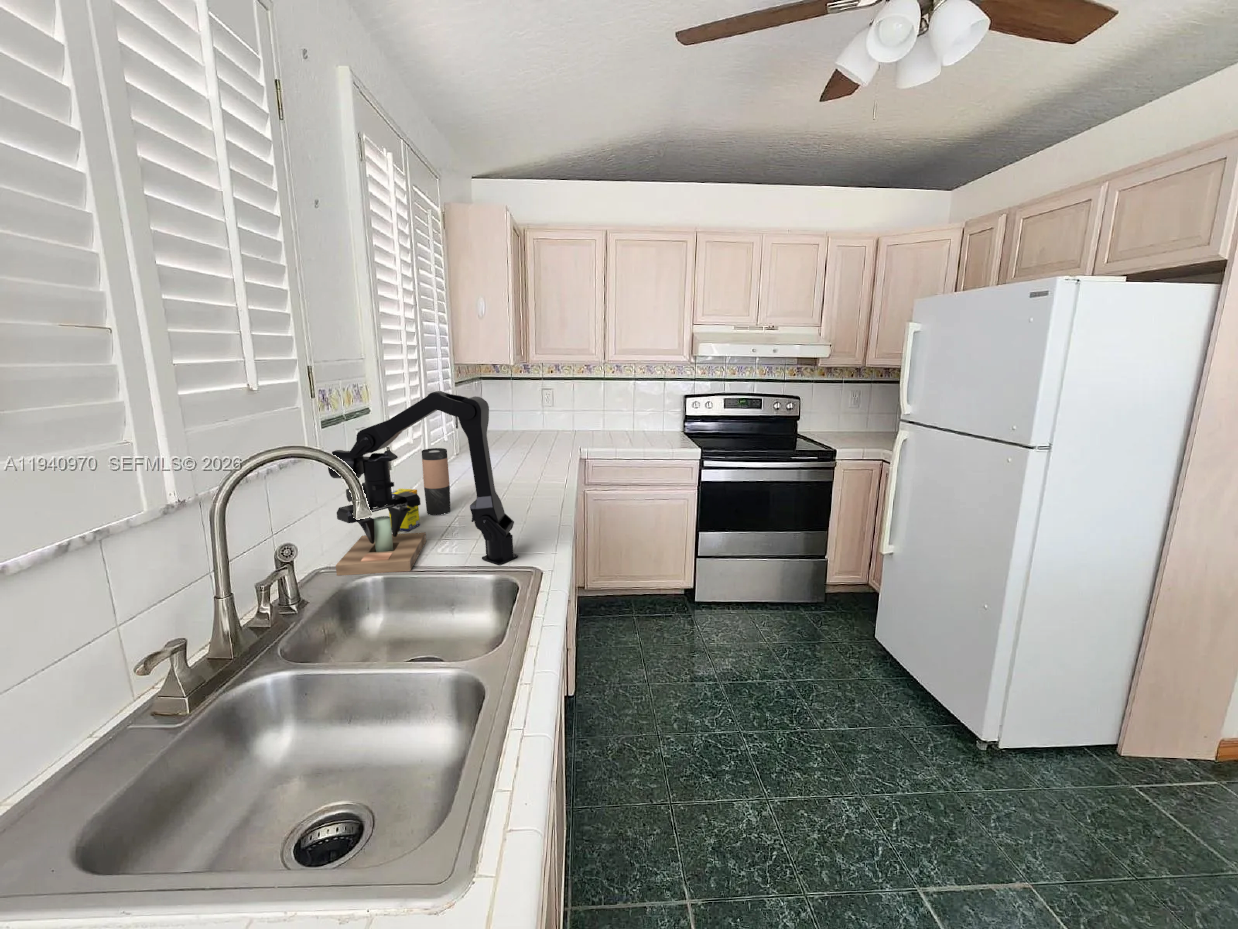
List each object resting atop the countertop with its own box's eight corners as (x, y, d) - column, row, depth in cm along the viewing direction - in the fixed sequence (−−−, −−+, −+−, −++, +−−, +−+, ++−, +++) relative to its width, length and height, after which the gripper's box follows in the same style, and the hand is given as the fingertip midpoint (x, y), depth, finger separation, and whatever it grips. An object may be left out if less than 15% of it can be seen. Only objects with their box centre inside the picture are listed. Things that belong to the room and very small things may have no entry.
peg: (397, 556, 133) (393, 518, 130) (382, 561, 129) (378, 522, 127) (388, 552, 135) (384, 515, 133) (373, 557, 132) (369, 519, 129)
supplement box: (408, 531, 150) (405, 494, 148) (389, 530, 152) (386, 493, 149) (420, 525, 156) (417, 489, 154) (402, 523, 157) (399, 488, 155)
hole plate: (363, 544, 140) (362, 534, 140) (426, 541, 143) (425, 531, 142) (336, 575, 121) (335, 564, 121) (410, 571, 124) (409, 560, 123)
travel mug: (456, 509, 171) (452, 448, 167) (442, 516, 164) (437, 453, 160) (435, 507, 173) (430, 447, 169) (420, 514, 166) (415, 451, 162)
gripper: (393, 467, 140) (399, 523, 143) (321, 481, 125) (328, 544, 128) (419, 473, 133) (424, 532, 137) (345, 488, 119) (353, 554, 122)
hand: (383, 539), depth 131 cm, fingers open, 6 cm apart
